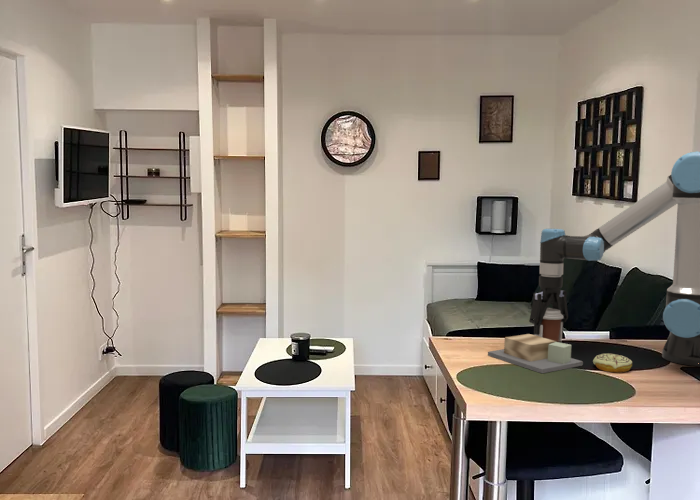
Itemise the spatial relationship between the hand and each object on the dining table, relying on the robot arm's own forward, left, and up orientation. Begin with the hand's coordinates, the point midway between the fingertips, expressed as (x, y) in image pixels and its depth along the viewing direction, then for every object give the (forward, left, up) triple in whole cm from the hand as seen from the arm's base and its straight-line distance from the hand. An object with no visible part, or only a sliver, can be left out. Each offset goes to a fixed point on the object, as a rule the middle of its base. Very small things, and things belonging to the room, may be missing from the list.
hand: (548, 342), depth 220 cm
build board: (-9, +16, -2) cm, 18 cm away
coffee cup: (0, 0, -1) cm, 1 cm away
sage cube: (-16, +13, -1) cm, 20 cm away
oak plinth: (-7, +16, -1) cm, 18 cm away
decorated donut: (-26, +2, -2) cm, 26 cm away
